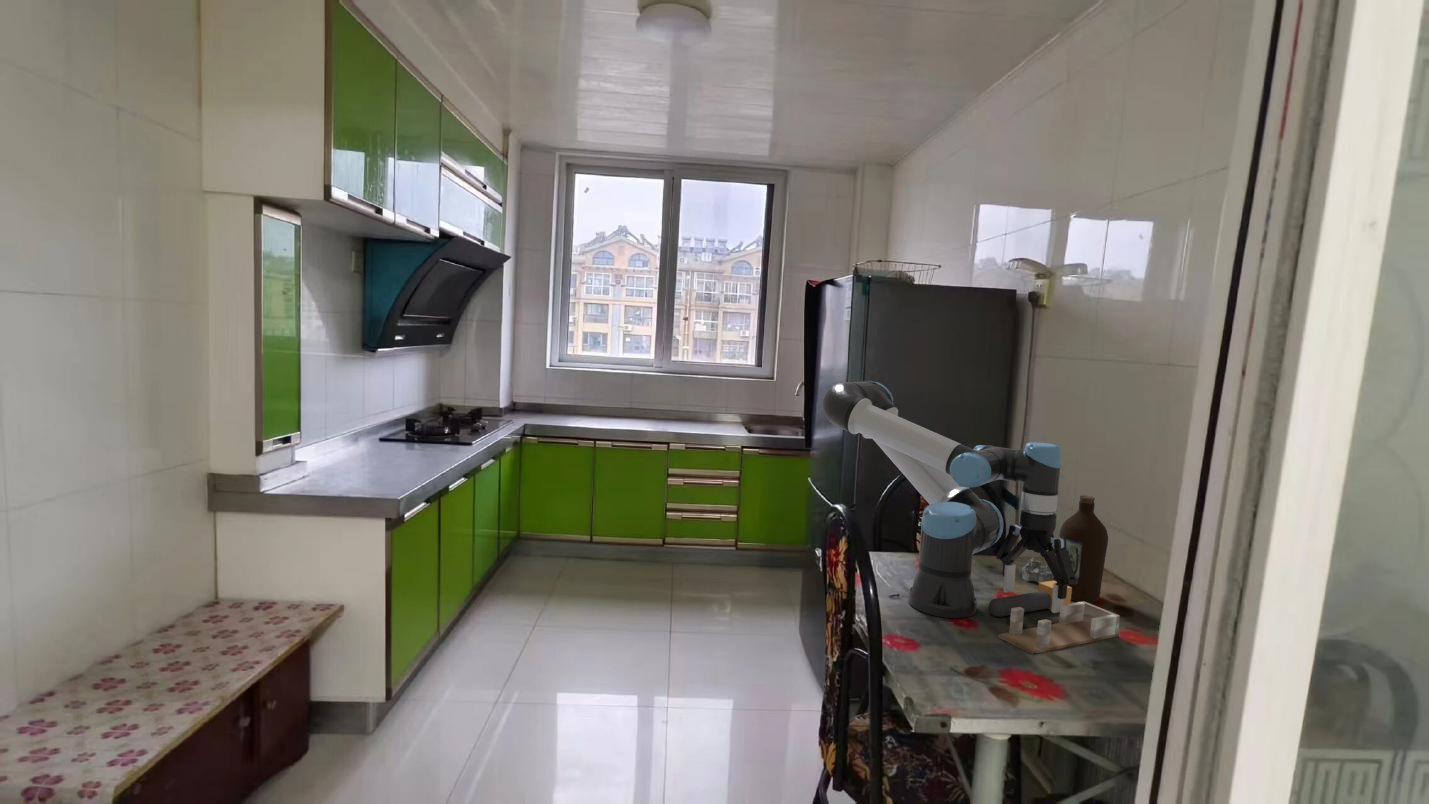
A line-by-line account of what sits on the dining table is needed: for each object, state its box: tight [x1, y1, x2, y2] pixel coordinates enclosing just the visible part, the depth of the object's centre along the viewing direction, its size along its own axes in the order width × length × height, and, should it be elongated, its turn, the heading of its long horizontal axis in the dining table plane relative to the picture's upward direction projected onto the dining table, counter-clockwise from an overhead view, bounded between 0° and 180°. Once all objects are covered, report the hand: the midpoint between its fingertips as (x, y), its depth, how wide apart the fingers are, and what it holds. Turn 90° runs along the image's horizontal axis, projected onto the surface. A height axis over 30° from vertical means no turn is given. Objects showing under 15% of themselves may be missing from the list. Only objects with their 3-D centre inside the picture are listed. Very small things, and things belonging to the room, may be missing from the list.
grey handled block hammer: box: [988, 580, 1072, 618], centre depth 167 cm, size 22×5×5 cm, turn 115°
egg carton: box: [1021, 557, 1055, 585], centre depth 191 cm, size 11×8×4 cm
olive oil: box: [1058, 494, 1109, 604], centre depth 177 cm, size 11×11×25 cm
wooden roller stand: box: [997, 601, 1120, 655], centre depth 153 cm, size 26×9×6 cm, turn 115°
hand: (1031, 601), depth 167 cm, fingers open, 13 cm apart
